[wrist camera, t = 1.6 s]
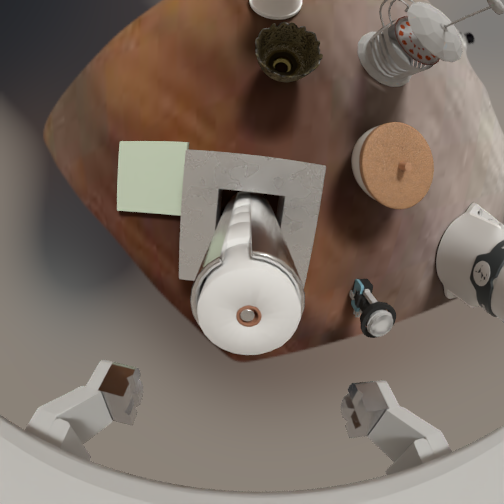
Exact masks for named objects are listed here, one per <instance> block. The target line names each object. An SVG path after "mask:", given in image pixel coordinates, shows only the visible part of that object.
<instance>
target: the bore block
mask: <svg viewBox="0 0 504 504" xmlns="http://www.w3.org/2000/svg"><path fill="white" fill-rule="evenodd" d="M325 170H326V166H323V165H318V164H312V163H306V162H300V161H293V160H286V159H279V158H272V157H264V156H256V155H247V154H237V153H227V152H215V151H201V150H186V152H185V163H184V175H183V188H182V203H181V222H180V249H179V279H183V280H192V281H195V278H196V276H197V273H198V271H199V268H200V266H201V263H202V261H203V258H204V256H205V254H206V251H207V249H208V246H209V244H210V242H211V239H212V237H213V235H214V232H215V230H216V228H217V225H218V223H219V221H220V214H221V203H222V193H223V189H227V190H237V191H246V192H255V193H264V194H272V195H279V199H278V206H277V213H276V219H277V222H278V224H279V226H280V229H281V231H282V234H283V236H284V239H285V241H286V244H287V246H288V249H289V251H290V254H291V256H292V259H293V261H294V264H295V267H296V269H297V272H298V274H299V277H300V279H301V282H302V286H303V289H304V285H305V281H306V276H307V271H308V266H309V261H310V256H311V251H312V246H313V241H314V236H315V230H316V225H317V219H318V213H319V208H320V202H321V196H322V189H323V183H324V177H325Z"/></svg>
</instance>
